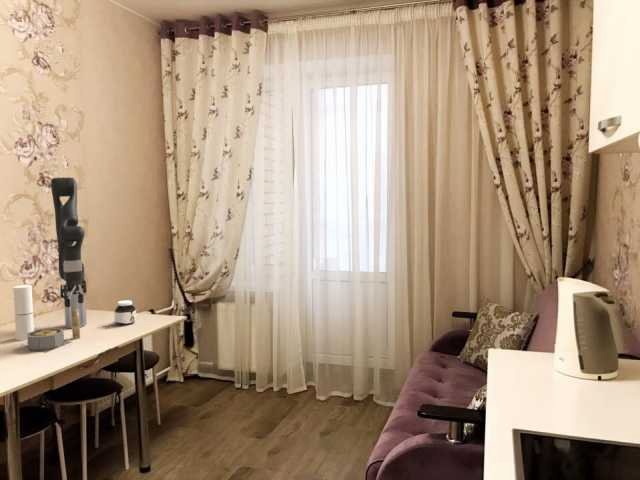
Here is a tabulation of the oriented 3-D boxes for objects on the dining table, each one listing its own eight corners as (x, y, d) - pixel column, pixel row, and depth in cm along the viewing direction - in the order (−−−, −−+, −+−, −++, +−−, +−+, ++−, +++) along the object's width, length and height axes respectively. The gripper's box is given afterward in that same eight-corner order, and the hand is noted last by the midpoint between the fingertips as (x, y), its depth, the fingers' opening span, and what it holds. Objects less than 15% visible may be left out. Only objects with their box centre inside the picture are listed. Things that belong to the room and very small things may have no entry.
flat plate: (45, 341, 227) (45, 339, 227) (72, 343, 224) (72, 341, 224) (18, 352, 212) (17, 350, 212) (46, 354, 209) (46, 352, 209)
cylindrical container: (26, 342, 225) (23, 288, 223) (12, 341, 227) (9, 287, 225) (37, 338, 232) (35, 285, 230) (24, 337, 234) (21, 284, 232)
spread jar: (122, 327, 252) (121, 304, 251) (108, 324, 258) (107, 302, 257) (141, 322, 262) (141, 300, 261) (127, 319, 268) (127, 297, 267)
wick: (75, 338, 231) (74, 309, 230) (81, 339, 231) (80, 309, 230) (71, 340, 229) (69, 310, 227) (77, 341, 228) (75, 311, 227)
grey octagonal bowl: (44, 340, 226) (43, 327, 226) (70, 342, 223) (69, 329, 223) (20, 349, 213) (19, 335, 212) (47, 351, 210) (47, 337, 209)
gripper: (76, 267, 235) (77, 301, 236) (54, 271, 221) (55, 307, 222) (90, 268, 233) (91, 302, 234) (69, 272, 219) (70, 308, 220)
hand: (74, 304), depth 228 cm, fingers open, 8 cm apart
